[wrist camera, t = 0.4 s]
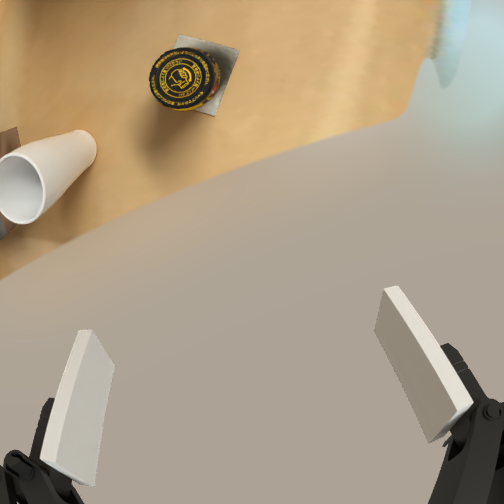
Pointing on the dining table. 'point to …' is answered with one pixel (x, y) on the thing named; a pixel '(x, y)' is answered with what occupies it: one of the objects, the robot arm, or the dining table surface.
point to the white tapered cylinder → (42, 173)
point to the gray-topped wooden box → (3, 145)
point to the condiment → (192, 75)
